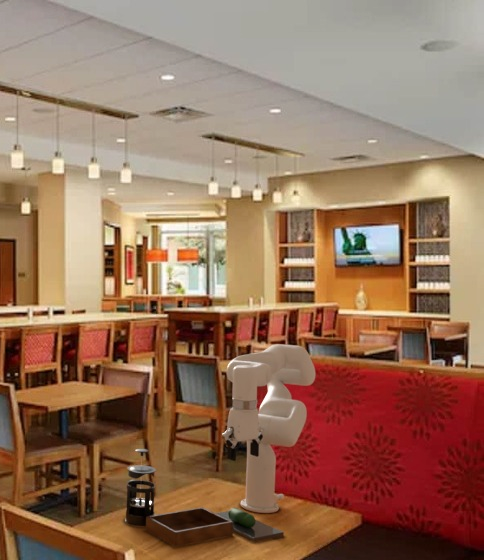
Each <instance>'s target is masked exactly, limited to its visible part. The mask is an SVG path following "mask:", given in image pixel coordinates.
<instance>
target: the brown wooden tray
mask: <svg viewBox="0 0 484 560" xmlns="http://www.w3.org/2000/svg"><path fill="white" fill-rule="evenodd" d="M215 513H216V512H213V511H212V510H209V509H207V508H205V507H203V506H202V507H201V506H200V507H195V508H189V509H184V510H177V511H170V512H166V513H165V512H164V513H159V514H154V515H153V516H147V517H146V526H145V530H146V531H147V532H148V533H150V534H153V535H154V536H156V537H158V538H160V539H161V540H163V542H164V541H165V542H166V543H168V544H170V545H171V546H173V547H180V546H185V545H189V544H194V543H201V542H204V541H205V542H206V541H211V540H215V539H216V540H217V539H221V538H225V537H230V536H233V535H234V534H233V533H234V532H233V522H232V521H230V520H228V519H226V518H224V517H222V516H220V515H217V514H215Z"/></svg>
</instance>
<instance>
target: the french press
mask: <svg viewBox="0 0 484 560" xmlns="http://www.w3.org/2000/svg"><path fill="white" fill-rule="evenodd" d="M149 452H150V450H148V449H147V448H137V449H135V453H139V454H140V457H141V458H140V464H137V465H136V464H135V465H129V466H127V468H126V470H127V471H128V477H129V478H131V479H129V480H128V481H127V483H126V510H125V519H124V521H125V523H127V524H128V525H130V526H136V527H146V517H147V516H153V515H155V491H156V484H155V482H151V481H149V480H142V479H143V476H145V475H151V476H152V477H153V478H155V473H156V472H157V469H156V468H155V467H152V466H149V465H143V457H144V455H145V453H149ZM136 479H137V480H136ZM139 479H140V480H139ZM138 485H139V487H138ZM143 486H148V487H149V488H148V487H147V488H142V487H143ZM137 493H138V494H139V497H137ZM142 494H144V497H142Z"/></svg>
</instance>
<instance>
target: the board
mask: <svg viewBox="0 0 484 560" xmlns="http://www.w3.org/2000/svg"><path fill="white" fill-rule="evenodd" d="M228 512H229V510H227V511H221V512H214V513H215V514H217V515H220V516H222V517H224V518H226V519H228V520H230V521H232V522H233V533H235V534H237V535H238V536H239V535H240V536H242V537H244V538H245V539H247V540H250V541H251V542H254V543H255V542H259V541H263V540H269V539H272V540H275V539H281V538H284V536H285V535H284V531H282V530H280V529H278V528H275V527H274V526H272V525H269V524H266V523H264V522H262V521H260V520H258V519H255V521H256V522H255V525H254V526H253V527H251V528H248V527H245V526H243V525H241V524H239V523H237V522H235V521H233V520H231V519H230V518H229V516H228Z"/></svg>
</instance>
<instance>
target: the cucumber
mask: <svg viewBox="0 0 484 560" xmlns="http://www.w3.org/2000/svg"><path fill="white" fill-rule="evenodd" d="M228 511H229V512H228V516H229V518H230V519H231V520H233V521H235V522H237V523H239V524H241V525H243V526H245V527H248V528H251V527H253V526H254V525H255V522H256V521H255V520H256V518H255V516H254V515H253V514H251V513H248V512H246V511H244V510H243V509H239V508H237V507H231V508H230V509H229V510H228Z"/></svg>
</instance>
